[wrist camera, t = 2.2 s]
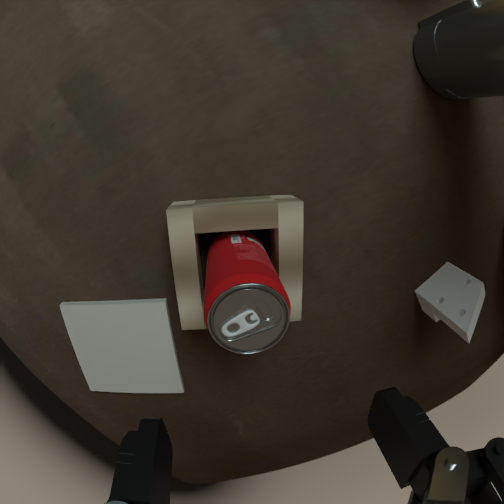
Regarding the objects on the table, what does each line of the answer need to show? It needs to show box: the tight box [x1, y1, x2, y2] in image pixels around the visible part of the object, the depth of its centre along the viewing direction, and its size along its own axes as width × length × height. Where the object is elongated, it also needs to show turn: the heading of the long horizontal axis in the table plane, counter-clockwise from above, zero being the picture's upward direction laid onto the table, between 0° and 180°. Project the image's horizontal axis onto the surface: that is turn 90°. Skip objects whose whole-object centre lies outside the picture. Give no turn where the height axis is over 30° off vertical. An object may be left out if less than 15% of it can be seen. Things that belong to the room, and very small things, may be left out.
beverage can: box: [204, 230, 291, 354], centre depth 23 cm, size 5×5×12 cm
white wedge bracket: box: [415, 262, 485, 344], centre depth 29 cm, size 4×10×9 cm, turn 126°
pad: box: [59, 298, 184, 393], centre depth 30 cm, size 12×12×1 cm
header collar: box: [166, 195, 303, 330], centre depth 26 cm, size 10×10×4 cm
